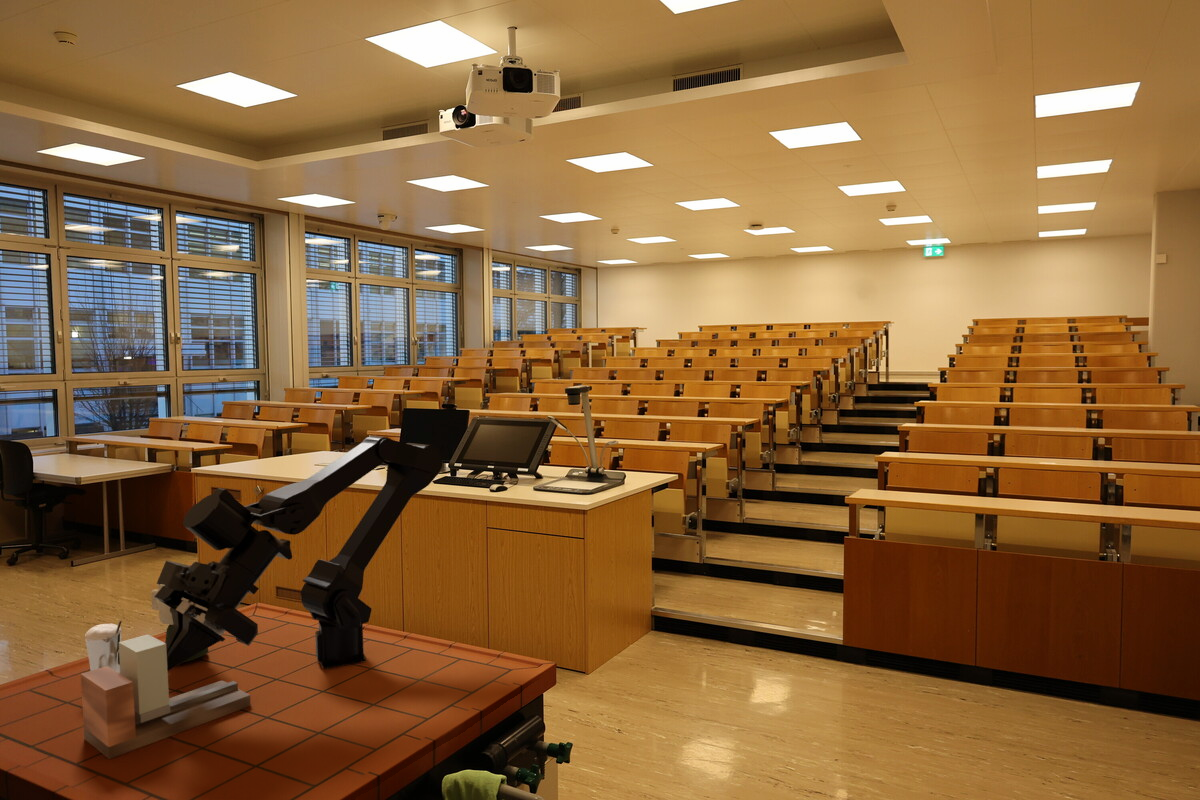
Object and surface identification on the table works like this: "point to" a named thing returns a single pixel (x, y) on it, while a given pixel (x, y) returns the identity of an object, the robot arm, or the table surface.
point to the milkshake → (104, 646)
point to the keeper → (146, 675)
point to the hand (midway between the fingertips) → (160, 670)
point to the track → (121, 732)
